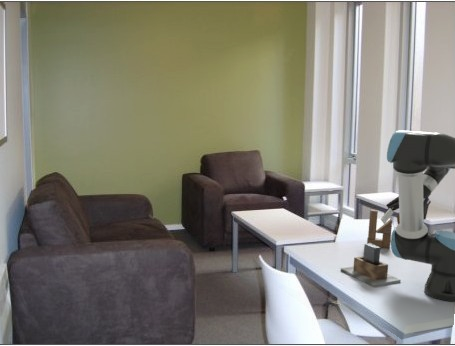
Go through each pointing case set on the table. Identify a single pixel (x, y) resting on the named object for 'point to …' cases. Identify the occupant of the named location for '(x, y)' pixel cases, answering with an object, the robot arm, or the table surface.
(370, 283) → the post slot
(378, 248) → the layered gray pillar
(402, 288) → the table surface
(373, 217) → the wooden angular frame
